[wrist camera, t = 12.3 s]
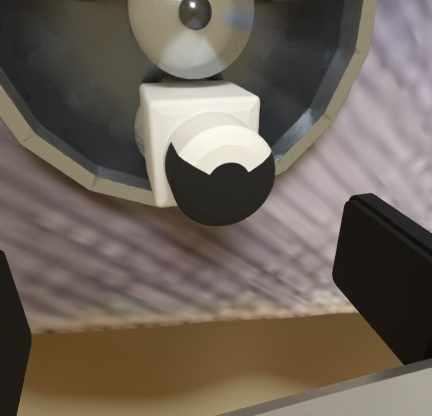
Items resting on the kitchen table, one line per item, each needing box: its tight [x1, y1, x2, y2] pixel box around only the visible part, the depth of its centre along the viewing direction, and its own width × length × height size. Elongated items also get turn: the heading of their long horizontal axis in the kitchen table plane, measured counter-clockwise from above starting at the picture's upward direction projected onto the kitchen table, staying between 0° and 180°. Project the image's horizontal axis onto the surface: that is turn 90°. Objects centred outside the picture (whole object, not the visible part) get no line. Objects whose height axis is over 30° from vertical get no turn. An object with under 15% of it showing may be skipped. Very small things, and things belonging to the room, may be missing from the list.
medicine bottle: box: [139, 80, 275, 226], centre depth 25 cm, size 7×7×12 cm
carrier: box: [0, 0, 378, 208], centre depth 25 cm, size 29×29×6 cm
